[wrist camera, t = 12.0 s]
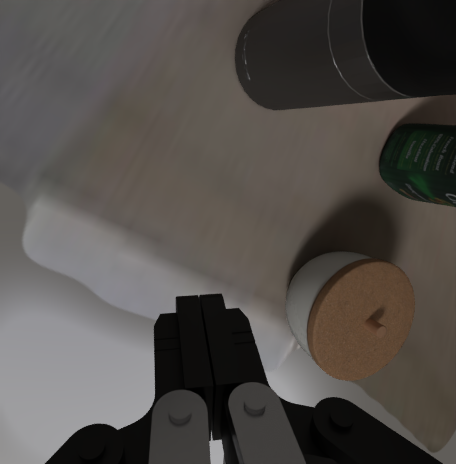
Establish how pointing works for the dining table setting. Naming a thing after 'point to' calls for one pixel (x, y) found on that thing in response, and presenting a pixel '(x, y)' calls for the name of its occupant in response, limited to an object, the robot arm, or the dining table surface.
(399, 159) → the coffee jar
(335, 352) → the lidded bowl
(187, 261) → the dining table surface
